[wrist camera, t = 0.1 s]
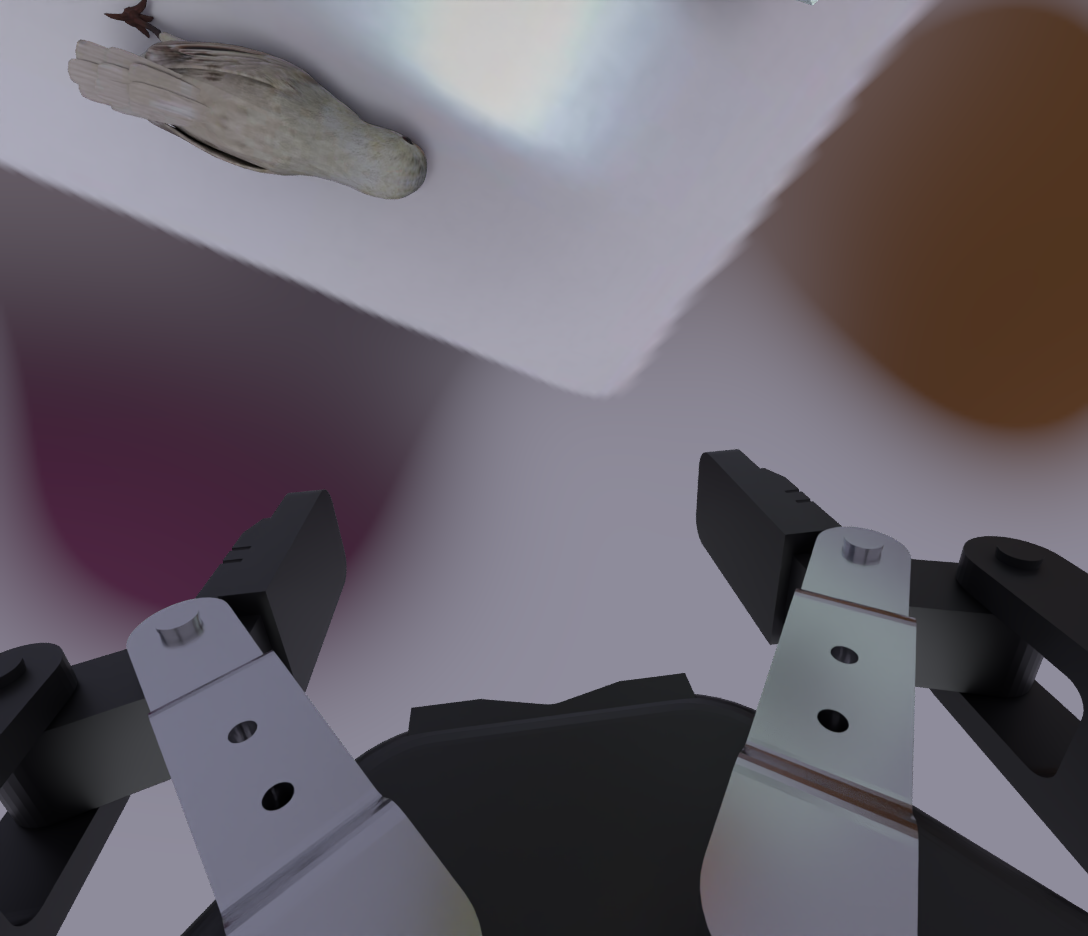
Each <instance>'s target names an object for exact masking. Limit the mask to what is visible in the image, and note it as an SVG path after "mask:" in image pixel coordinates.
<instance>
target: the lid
mask: <svg viewBox="0 0 1088 936" xmlns="http://www.w3.org/2000/svg"><path fill="white" fill-rule="evenodd" d="M797 1H800V2H803V3H807V4H810V5H814V4H815V3H816V2H817V1H818V0H797Z"/></svg>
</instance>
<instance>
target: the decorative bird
mask: <svg viewBox="0 0 1088 936" xmlns="http://www.w3.org/2000/svg"><path fill="white" fill-rule="evenodd" d="M146 2H147V0H142V1H141V2H140V3H139V4H137V5H136V6H133V7H128V8H125V9H124V12H123V13H122V14H108V13H105V15H106V16H108V17H110V18H112V19H116V20H121V21H125V22H126V23H127V24H129V25H130V26H132V27H136V28H137V29H138V30H139V31H141V32H142V33H143V34H144V35H145V36H147V37H148V38H150V35H149V32H148V31H147V30H146V28H147V29H149V30H150V31H152V32H153V33H154V34H155V35H156V36H157V37H158V38H159V39H160V40H161V43H157V44H154V45H152V46H151V47H150V48H149V49H148V50H147V51H146V52H145V53H143V54H142V55H140V56H138V55H135V54H133V53H130V52H127V51H125V50H122V49H118V48H114V47H111V48H109V49H108V48H106V47H103V46H101V45H98V44H95V43H93V42H90V41H85V40H79V41H78V42H77V46H76V50H75V51H76V59H71V60H70V61H69V62H68V72H69V76H70V79H71V80H72V81H73V82H74V83H77V84H79V90H80V92H81V95H82V96H83V97H85V98H87V99H89V100H92V101H95V102H98V103H103V104H107V105H110V106H111V108H112V109H113V110H115V111H118V112H121V113H124V114H127V115H131V116H136V117H140V118H144V119H147V120H148V121H149V122H151V123H153V124H154V125H156V126H158V127H160V128H162V129H164V130H166V131H168V132H170V133H172V134H174V135H177V136H178V137H180V138H182V139H184V140H186V141H187V142H189V143H191V144H192V145H194V146H196V147H198V148H200V149H201V150H203V151H205V152H207V153H209V154H210V155H212V156H215V157H217V158H219V159H222V160H224V161H226V162H229V163H231V164H234V165H237V166H240V167H243V168H246V169H250V170H253V171H257V172H261V173H269V174H277V175H284V176H285V175H307V176H315V177H320V178H324V179H328V180H332V181H335V182H338V183H341V184H344V185H346V186H349V187H351V188H353V189H355V190H358V191H360V192H362V193H364V194H367V195H371V196H374V197H378V198H384V199H400V198H403V197H406V196H408V195H409V194H411V193H413V192H415V191H417V190H418V188H419V187H420V186H421V185H422V184H423V182H424V180H425V177H426V172H427V161H426V158H425V155H424V152H423V151H422V150H421V148H420V147H419V146H417V145H416V144H414V143H413V142H412V141H411V140H410V139H409V138H407V137H405V136H403V135H401V134H399V133H397V132H395V131H392V130H389V129H386V128H382V127H379V126H375V125H371V124H368V123H366V122H364V121H362V120H361V119H360V118H359V117H358V115H357V114H355V113H354V112H353V111H352V110H351V109H350V108H349V107H347V106H346V105H345V104H343V103H342V102H341V101H339V100H338V99H337V98H335V97H334V96H333V95H332V94H331V93H330V92H329V91H327V90H326V89H324V88H323V87H322V86H321V85H320V84H319V83H317V82H316V81H315V80H314V79H313V78H312V77H311V76H310V75H309V74H307V73H306V72H305V71H304V70H302V69H300V68H299V67H297V66H295V65H293V64H291V63H290V62H288V61H285V60H282V59H280V58H277V57H275V56H272V55H269V54H267V53H264V52H260V51H256V50H252V49H249V48H245V47H241V46H235V45H229V44H222V43H211V42H193V41H186V40H183V39H180V38H177V37H175V36H173V35H170V34H168V33H166V32H161V31H160V30H159V29H158V28H156V27H154V26H153V25H151V24H149V23H147V22H151V21H152V20H153V19H154V18H153V17H152V16H146V15H142V14H140V13H142V12H143V10H144V9H145V7H146ZM166 123H167V124H166ZM168 124H171V125H172V126H174V127H176V128H174V127H172V126H169V125H168Z"/></svg>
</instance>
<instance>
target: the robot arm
mask: <svg viewBox="0 0 1088 936" xmlns="http://www.w3.org/2000/svg"><path fill="white" fill-rule="evenodd" d="M696 524H697V530H698V534H699V538H700V540H701V542H702V544H703V546H704V547H705V549H706V550H707V552H708V553H709V555H710V556H711V558H712V559H713V560H714V562H715V564H716V565H717V567H718V568H719V570H720V571H721V573H722V574H723V576H724V577H725V578H726V580H727V581H728V583H729V584H730V586H731V587H732V589H733V590H734V592H735V593H736V595H737V596H738V598H739V599H740V601H741V602H742V604H743V605H744V606H745V608H746V610H747V611H748V613H749V614H750V615H751V617H752V619H753V620H754V622H755V623H756V625H757V626H758V627H759V629H760V631H761V632H762V634H763V635H764V636H765V638H766V640H767V641H768V642H769V644H770V645H772V644H778V646H777V649H776V652H775V655H774V658H773V661H772V664H771V667H770V670H769V673H768V677H767V680H766V683H765V686H764V689H763V692H762V695H761V698H760V701H759V704H758V708H757V711H756V710H754V709H752V708H749V707H746V706H743V705H741V704H738V703H735V702H732V701H729V700H725V699H721V698H717V697H711V696H706V695H699V694H694V692H693V690H692V688H691V686H690V683H689V681H688V679H687V677H686V674H685V673H681V674H674V675H666V676H658V677H650V678H643V679H634V680H626V681H619V682H616V683H614V684H611V685H608V686H605V687H602V688H600V689H597V690H594V691H591V692H589V693H585V694H583V695H580V696H577V697H574V698H572V699H568V700H566V701H563V702H560V703H557V704H549V705H547V704H533V703H521V702H509V701H497V700H485V699H477V700H470V701H462V702H454V703H446V704H438V705H430V706H423V707H415V708H411V715H410V722H409V730H408V732H405V733H402V734H399V735H397V736H395V737H393V738H390V739H388V740H386V741H384V742H382V743H380V744H378V745H377V746H375V747H373V748H371V749H370V750H368V751H366V752H365V753H364V754H362V755H361V756H360V757H358V758H356V759H355V760H354V759H353V757H352V756H351V755H350V753H349V752H348V751H347V749H346V748H345V747H344V745H343V744H342V742H341V741H340V740H339V738H338V737H337V736H336V734H335V733H334V732H333V730H332V729H331V728H330V726H329V725H328V723H327V722H326V721H325V720H324V718H323V717H322V715H321V714H320V713H319V711H318V710H317V709H316V707H315V706H314V705H313V703H312V702H311V701H310V699H309V698H308V696H307V695H306V694H305V691H306V689H307V686H308V683H309V680H310V677H311V675H312V672H313V669H314V666H315V664H316V661H317V658H318V655H319V652H320V650H321V647H322V644H323V641H324V638H325V636H326V633H327V630H328V628H329V625H330V622H331V619H332V616H333V613H334V611H335V608H336V605H337V603H338V600H339V597H340V594H341V592H342V589H343V586H344V583H345V579H346V557H345V552H344V547H343V544H342V539H341V536H340V532H339V527H338V523H337V519H336V516H335V511H334V507H333V503H332V500H331V497H330V495H329V493H328V491H327V490H316V491H306V492H296V493H288V494H287V495H286V496H285V497H284V499H283V501H282V502H281V503H280V505H279V506H278V508H277V509H276V511H275V512H274V514H273V515H272V517H271V518H265V519H262V520H261V521H259V522H258V523H256V524H255V525H254V526H252V527H251V528H249V529H248V530H246V531H245V532H244V533H243V534H242V535H241V537H240V538H239V539H238V541H237V542H236V543H235V545H234V546H233V548H232V551H230V552H229V553H228V554H227V556H226V557H225V558H224V560H223V564H220V565H219V567H218V568H217V569H216V571H215V572H214V573H213V575H212V576H211V577H210V579H209V580H208V582H207V583H206V584H205V586H204V587H203V589H202V590H201V591H200V592H199V594H198V595H197V597H196V598H195V599H191V600H187V601H184V602H180V603H177V604H174V605H172V606H169V607H167V608H165V609H163V610H161V611H159V612H157V613H155V614H153V615H152V616H151V617H149V618H147V619H146V620H145V621H143V622H142V623H141V624H140V625H139V626H138V627H137V628H136V629H135V630H134V631H133V632H132V633H131V635H130V636H129V638H128V640H127V645H126V646H127V649H125V650H122V651H119V652H116V653H112V654H109V655H106V656H102V657H99V658H96V659H93V660H89V661H86V662H83V663H79V664H76V665H72V666H71V665H70V663H69V662H68V660H67V658H66V656H65V654H64V652H63V651H62V649H61V648H60V647H59V646H57V645H55V644H51V643H36V644H29V645H24V646H20V647H17V648H13V649H10V650H7V651H5V652H2V653H0V801H1V802H2V804H3V805H4V807H5V808H6V809H7V813H6V814H5V815H4V817H3V818H2V820H1V821H0V936H56V935H57V933H58V931H59V929H60V927H61V925H62V924H63V922H64V920H65V918H66V916H67V914H68V912H69V910H70V909H71V907H72V905H73V903H74V901H75V899H76V897H77V895H78V893H79V892H80V890H81V887H82V886H83V884H84V882H85V880H86V878H87V876H88V875H89V873H90V871H91V869H92V867H93V865H94V863H95V861H96V860H97V858H98V856H99V854H100V852H101V850H102V848H103V847H104V844H105V843H106V841H107V839H108V837H109V835H110V833H111V831H112V830H113V828H114V826H115V824H116V822H117V820H118V818H119V816H120V815H121V812H122V811H123V809H124V807H125V805H126V803H127V801H128V799H129V797H130V795H131V794H133V793H136V792H139V791H141V790H144V789H146V788H149V787H151V786H154V785H157V784H159V783H162V782H165V781H167V780H170V779H172V782H173V785H174V787H175V790H176V793H177V796H178V798H179V801H180V804H181V806H182V809H183V812H184V815H185V817H186V820H187V823H188V825H189V828H190V831H191V834H192V836H193V839H194V842H195V844H196V847H197V850H198V853H199V855H200V858H201V860H202V863H203V866H204V869H205V871H206V874H207V877H208V879H209V882H210V885H211V888H212V890H213V893H214V896H215V898H216V900H215V901H214V902H213V903H212V904H211V905H210V906H209V907H208V908H207V909H206V910H205V911H204V912H203V913H202V914H201V915H200V916H199V917H198V918H197V919H196V920H195V921H194V922H193V923H192V924H191V926H189V927H188V928H187V929H186V931H185V932H184V933H183V934H182V935H181V936H1088V913H1087V912H1086V911H1084V910H1083V909H1081V908H1079V907H1078V906H1076V905H1074V904H1072V903H1071V902H1069V901H1068V900H1066V899H1065V898H1063V897H1061V896H1060V895H1058V894H1056V893H1055V892H1053V891H1052V890H1050V889H1048V888H1047V887H1045V886H1044V885H1042V884H1040V883H1039V882H1037V881H1035V880H1034V879H1032V878H1030V877H1029V876H1027V875H1026V874H1024V873H1022V872H1021V871H1019V870H1017V869H1016V868H1014V867H1013V866H1011V865H1009V864H1008V863H1006V862H1004V861H1003V860H1001V859H1000V858H998V857H996V856H995V855H993V854H991V853H990V852H988V851H987V850H985V849H983V848H981V847H980V846H978V845H977V844H975V843H973V842H972V841H970V840H969V839H967V838H965V837H964V836H962V835H960V834H959V833H957V832H956V831H954V830H952V829H951V828H949V827H947V826H946V825H944V824H942V823H941V822H939V821H938V820H936V819H934V818H933V817H931V816H930V815H928V814H926V813H925V812H923V811H921V810H920V809H918V808H917V807H915V806H913V805H912V788H913V747H914V706H915V687H923V688H929V689H930V690H931V691H932V693H933V694H934V695H935V696H936V697H937V699H938V700H939V701H940V702H941V703H942V704H943V706H944V707H945V708H946V709H947V710H948V711H949V713H950V714H951V715H952V716H953V717H954V718H955V719H956V721H957V722H958V723H959V724H960V725H961V727H962V728H963V729H964V730H965V731H966V732H967V734H968V735H969V736H970V737H971V738H972V739H973V741H974V742H975V743H976V744H977V745H978V746H979V748H980V749H981V750H982V751H983V752H984V753H985V755H986V756H987V757H988V758H989V759H990V760H991V761H992V763H993V764H994V765H995V766H996V767H997V768H998V770H999V771H1000V772H1001V773H1002V774H1003V775H1004V777H1005V778H1006V779H1007V780H1008V781H1009V782H1010V784H1011V785H1012V786H1013V787H1014V788H1015V789H1016V790H1017V792H1018V793H1019V794H1020V795H1021V796H1022V798H1023V799H1024V800H1025V801H1026V802H1027V803H1028V804H1029V806H1030V807H1031V808H1032V809H1033V810H1034V812H1035V813H1036V814H1037V815H1038V816H1039V817H1040V819H1041V820H1042V821H1043V822H1044V823H1045V824H1046V826H1047V827H1048V828H1049V829H1050V830H1051V831H1052V832H1053V834H1054V835H1055V836H1056V837H1057V838H1058V839H1059V841H1060V842H1061V843H1062V844H1063V845H1064V846H1065V848H1066V849H1067V850H1068V851H1069V852H1070V853H1071V855H1072V856H1073V857H1074V858H1075V859H1076V860H1077V862H1078V863H1079V864H1080V865H1081V866H1082V867H1083V869H1084V870H1085V871H1086V872H1087V873H1088V573H1086V572H1085V571H1083V570H1081V569H1080V568H1078V567H1077V566H1075V565H1074V564H1072V563H1070V562H1069V561H1067V560H1066V559H1064V558H1063V557H1061V556H1059V555H1058V554H1056V553H1054V552H1052V551H1050V550H1048V549H1046V548H1043V547H1041V546H1038V545H1035V544H1032V543H1029V542H1026V541H1022V540H1018V539H1013V538H1007V537H997V536H984V537H977V538H973V539H971V540H969V541H967V542H966V543H965V545H964V547H963V550H962V554H961V557H960V560H959V563H953V562H940V561H927V560H926V561H925V560H915V559H911V555H910V553H909V551H908V550H907V548H906V547H905V546H904V545H903V544H901V543H900V542H898V541H897V540H895V539H894V538H892V537H890V536H888V535H885V534H882V533H880V532H877V531H873V530H869V529H865V528H858V527H842V526H841V525H840V524H839V523H837V522H836V521H835V520H834V519H833V518H832V517H830V516H829V515H828V514H827V513H825V511H824V510H822V509H821V508H820V507H819V506H818V505H817V504H815V503H814V502H811V501H810V498H809V497H807V496H806V495H805V494H804V493H803V492H799V489H798V488H797V487H796V486H795V485H793V484H792V483H791V482H790V481H789V480H788V479H787V478H785V477H783V476H781V475H779V474H776V473H774V472H772V471H770V470H767V469H765V468H761V469H760V468H759V467H758V466H757V465H756V464H754V463H753V462H752V461H751V460H750V459H749V458H748V457H747V456H746V455H745V454H744V453H742V452H741V451H740V450H738V449H735V450H725V451H715V452H705V453H703V454H702V456H701V458H700V462H699V476H698V493H697V510H696ZM1043 657H1045V658H1046V659H1047V660H1048V661H1049V662H1051V663H1052V664H1053V665H1054V666H1055V667H1056V668H1058V669H1059V670H1060V671H1061V672H1062V673H1064V674H1065V675H1066V676H1067V677H1068V678H1069V679H1070V680H1071V681H1072V682H1073V684H1074V685H1075V687H1076V688H1077V690H1078V692H1079V693H1080V696H1081V698H1082V702H1083V708H1084V712H1083V717H1082V720H1081V721H1080V720H1078V719H1077V718H1076V717H1075V716H1074V715H1073V714H1072V713H1071V712H1070V711H1069V710H1068V709H1066V708H1065V707H1064V706H1063V705H1062V704H1061V703H1060V702H1059V701H1058V700H1057V699H1055V698H1054V697H1053V696H1052V695H1051V694H1050V693H1049V692H1048V691H1047V690H1045V689H1044V688H1043V687H1042V686H1041V685H1040V684H1039V683H1038V682H1037V681H1036V680H1035V677H1036V674H1037V672H1038V669H1039V667H1040V664H1041V662H1042V659H1043Z"/></svg>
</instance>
